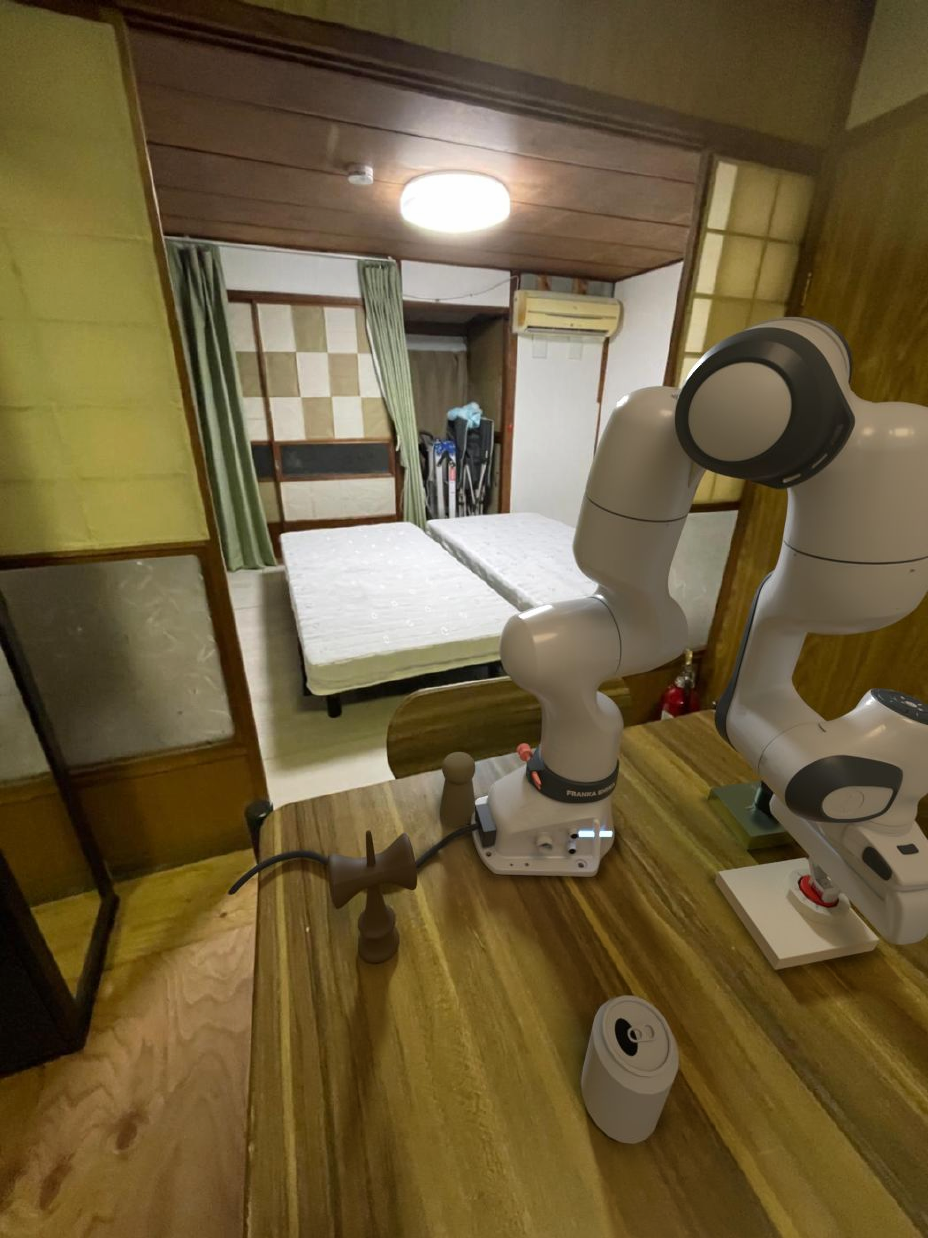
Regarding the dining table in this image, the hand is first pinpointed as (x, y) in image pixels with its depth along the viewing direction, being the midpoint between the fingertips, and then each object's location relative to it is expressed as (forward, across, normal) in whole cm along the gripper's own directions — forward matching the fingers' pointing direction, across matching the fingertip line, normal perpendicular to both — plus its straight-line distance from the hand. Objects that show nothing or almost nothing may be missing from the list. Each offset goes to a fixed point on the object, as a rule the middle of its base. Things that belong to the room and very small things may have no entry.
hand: (821, 892), depth 66 cm
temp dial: (+1, -16, +5) cm, 16 cm away
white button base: (+4, 0, -3) cm, 5 cm away
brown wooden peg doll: (+4, -25, -44) cm, 51 cm away
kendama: (+4, -5, -57) cm, 57 cm away
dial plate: (+4, -16, +4) cm, 17 cm away
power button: (+2, -1, 0) cm, 2 cm away
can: (+5, +14, -34) cm, 37 cm away
